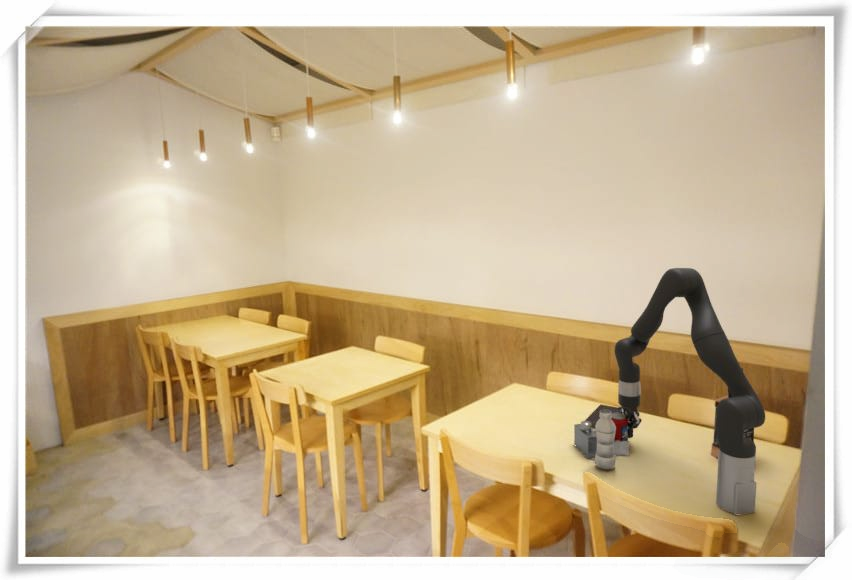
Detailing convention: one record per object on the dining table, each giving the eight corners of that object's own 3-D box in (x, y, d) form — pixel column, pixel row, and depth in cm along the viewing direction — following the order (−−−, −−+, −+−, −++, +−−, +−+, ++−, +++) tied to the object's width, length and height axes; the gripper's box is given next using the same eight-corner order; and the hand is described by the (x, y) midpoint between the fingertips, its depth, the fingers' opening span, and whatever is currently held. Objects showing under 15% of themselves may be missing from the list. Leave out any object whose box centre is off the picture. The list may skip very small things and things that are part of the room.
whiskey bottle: (708, 453, 191) (712, 365, 185) (730, 447, 195) (734, 361, 189) (734, 467, 182) (739, 374, 176) (756, 460, 185) (762, 369, 179)
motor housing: (610, 438, 207) (610, 411, 205) (629, 455, 193) (630, 426, 191) (572, 443, 204) (572, 415, 202) (589, 461, 191) (589, 431, 189)
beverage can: (629, 451, 196) (629, 419, 194) (609, 450, 197) (609, 419, 195) (626, 442, 202) (626, 411, 200) (607, 441, 204) (606, 411, 202)
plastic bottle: (599, 460, 191) (599, 406, 187) (618, 466, 186) (619, 410, 183) (591, 468, 186) (591, 412, 182) (611, 474, 181) (611, 417, 178)
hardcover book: (580, 429, 216) (580, 424, 216) (600, 409, 234) (600, 404, 234) (622, 438, 207) (622, 433, 206) (639, 416, 225) (639, 411, 225)
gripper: (649, 397, 191) (648, 443, 194) (629, 384, 204) (629, 428, 207) (629, 399, 190) (628, 446, 193) (610, 386, 203) (610, 430, 206)
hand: (629, 436), depth 200 cm, fingers closed
